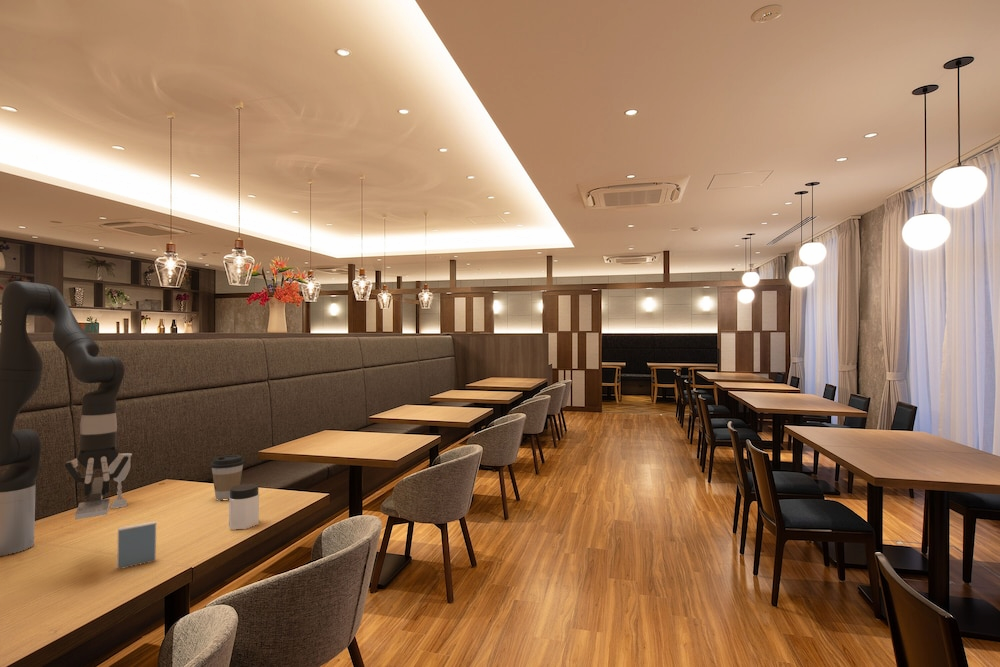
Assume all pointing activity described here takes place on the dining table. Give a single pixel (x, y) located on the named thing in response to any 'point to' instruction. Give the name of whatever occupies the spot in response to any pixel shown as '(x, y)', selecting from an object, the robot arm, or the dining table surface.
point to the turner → (94, 502)
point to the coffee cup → (226, 474)
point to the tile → (136, 544)
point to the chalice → (120, 480)
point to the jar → (243, 506)
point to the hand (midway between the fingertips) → (97, 495)
